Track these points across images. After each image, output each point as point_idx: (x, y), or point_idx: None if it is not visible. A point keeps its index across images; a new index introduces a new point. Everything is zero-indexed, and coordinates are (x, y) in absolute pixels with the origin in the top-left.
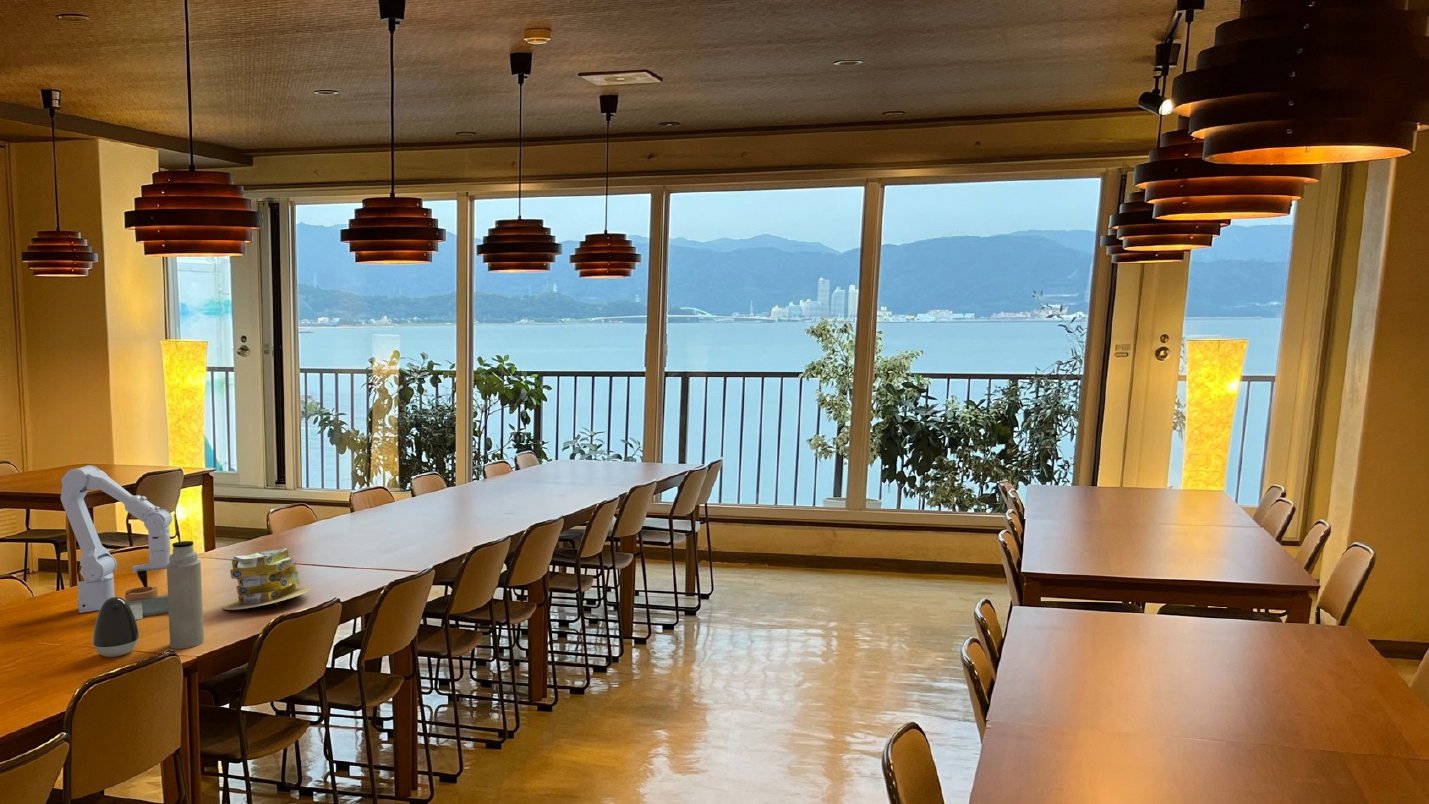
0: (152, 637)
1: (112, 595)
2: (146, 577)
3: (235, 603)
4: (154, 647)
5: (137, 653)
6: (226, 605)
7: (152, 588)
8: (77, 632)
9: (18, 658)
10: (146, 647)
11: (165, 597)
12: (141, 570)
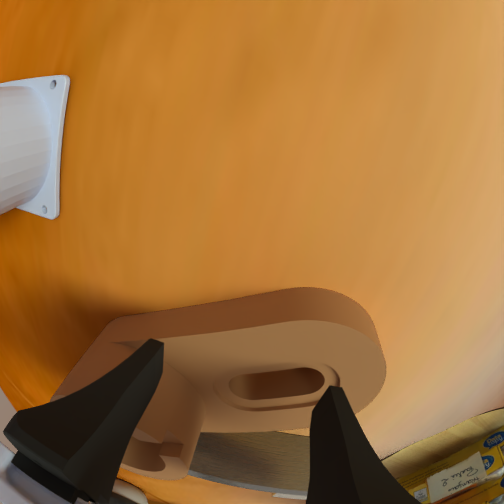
0: (171, 488)
1: (4, 195)
2: (110, 482)
3: (409, 460)
4: (172, 500)
5: (152, 497)
6: (390, 458)
7: (164, 461)
8: (34, 381)
9: (17, 408)
10: (162, 496)
11: (216, 479)
12: (50, 493)
